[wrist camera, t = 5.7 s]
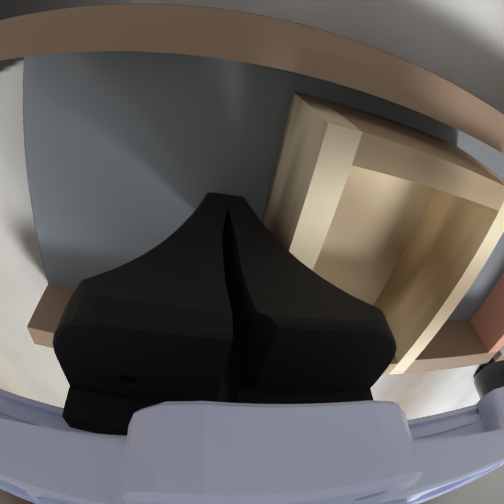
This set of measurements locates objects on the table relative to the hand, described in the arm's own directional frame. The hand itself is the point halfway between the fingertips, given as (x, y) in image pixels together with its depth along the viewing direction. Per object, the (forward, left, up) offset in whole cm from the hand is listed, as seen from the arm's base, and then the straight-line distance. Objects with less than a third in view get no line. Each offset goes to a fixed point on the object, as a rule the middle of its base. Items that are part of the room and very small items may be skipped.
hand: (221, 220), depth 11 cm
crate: (0, -5, -2) cm, 5 cm away
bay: (0, -7, -2) cm, 7 cm away
